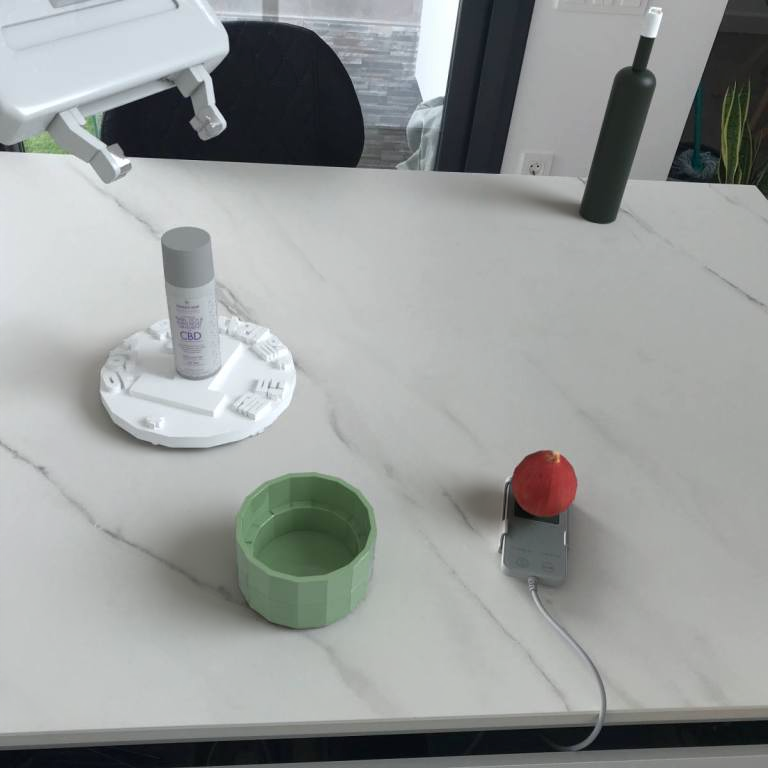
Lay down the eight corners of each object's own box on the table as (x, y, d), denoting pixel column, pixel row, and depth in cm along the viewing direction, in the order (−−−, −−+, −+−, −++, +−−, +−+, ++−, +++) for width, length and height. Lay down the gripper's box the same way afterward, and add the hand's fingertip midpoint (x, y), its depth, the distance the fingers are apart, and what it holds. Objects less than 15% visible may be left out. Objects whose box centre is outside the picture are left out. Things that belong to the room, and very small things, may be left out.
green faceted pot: (313, 657, 59) (314, 607, 55) (211, 580, 64) (205, 530, 60) (396, 566, 66) (403, 516, 62) (299, 503, 71) (299, 453, 67)
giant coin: (62, 393, 80) (56, 370, 78) (202, 312, 93) (200, 291, 91) (199, 485, 72) (197, 463, 70) (332, 382, 85) (333, 361, 83)
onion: (493, 498, 73) (508, 438, 68) (542, 481, 76) (560, 420, 71) (528, 543, 70) (547, 482, 64) (579, 523, 72) (601, 463, 67)
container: (183, 385, 78) (167, 255, 68) (169, 358, 81) (153, 230, 71) (227, 373, 80) (219, 245, 70) (212, 348, 83) (202, 222, 73)
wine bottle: (595, 226, 118) (654, 15, 99) (571, 209, 122) (624, 3, 102) (623, 220, 120) (687, 13, 101) (599, 203, 124) (656, 1, 105)
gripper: (-93, -39, 42) (68, 183, 44) (173, -79, 56) (284, 92, 58) (-117, 31, 46) (31, 229, 49) (135, -22, 60) (240, 134, 63)
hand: (171, 154), depth 54 cm, fingers open, 8 cm apart
